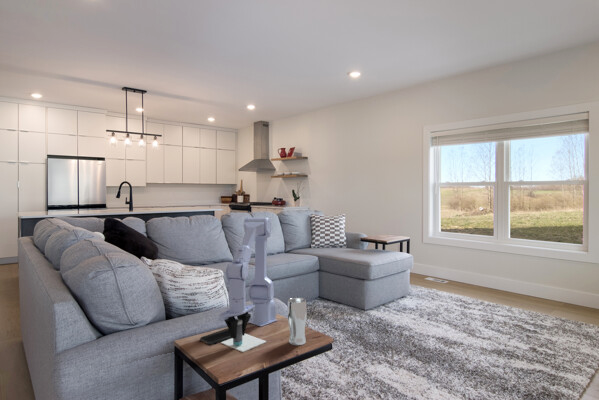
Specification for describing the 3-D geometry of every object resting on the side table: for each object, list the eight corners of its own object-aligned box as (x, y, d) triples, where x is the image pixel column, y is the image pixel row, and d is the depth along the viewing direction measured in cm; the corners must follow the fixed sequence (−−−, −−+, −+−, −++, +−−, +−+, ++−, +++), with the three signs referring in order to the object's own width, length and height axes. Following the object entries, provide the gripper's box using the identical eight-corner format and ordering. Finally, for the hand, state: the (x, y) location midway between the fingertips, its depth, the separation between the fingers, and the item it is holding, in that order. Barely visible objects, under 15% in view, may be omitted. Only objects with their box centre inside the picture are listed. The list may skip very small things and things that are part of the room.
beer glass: (309, 339, 130) (309, 298, 130) (303, 347, 123) (302, 303, 123) (291, 337, 132) (291, 296, 132) (284, 344, 126) (284, 302, 126)
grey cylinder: (241, 340, 127) (240, 318, 127) (243, 344, 124) (243, 321, 124) (232, 342, 126) (231, 319, 126) (234, 345, 123) (234, 322, 123)
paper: (244, 334, 136) (244, 333, 136) (266, 342, 128) (266, 341, 128) (220, 343, 127) (220, 342, 127) (242, 352, 120) (242, 351, 120)
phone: (198, 337, 131) (232, 326, 142) (199, 340, 131) (232, 329, 142) (211, 343, 125) (245, 331, 136) (211, 346, 125) (245, 334, 136)
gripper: (245, 291, 133) (246, 327, 133) (213, 299, 122) (213, 339, 122) (258, 294, 129) (258, 332, 129) (225, 303, 118) (226, 345, 118)
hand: (237, 336), depth 125 cm, fingers closed on grey cylinder, 3 cm apart
